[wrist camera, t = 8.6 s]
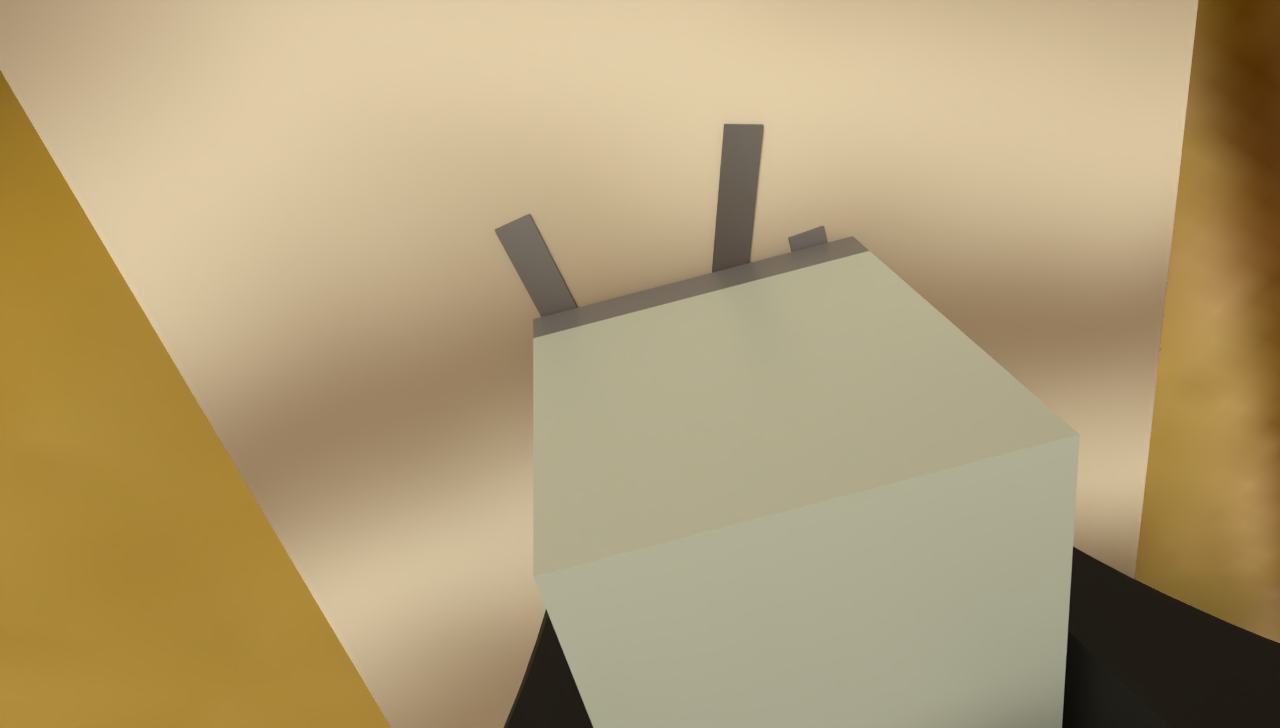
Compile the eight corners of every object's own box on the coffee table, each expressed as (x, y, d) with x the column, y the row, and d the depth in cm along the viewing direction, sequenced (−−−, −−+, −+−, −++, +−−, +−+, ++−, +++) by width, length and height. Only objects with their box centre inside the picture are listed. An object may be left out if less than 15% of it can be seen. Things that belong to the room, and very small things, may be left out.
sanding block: (891, 636, 14) (1049, 935, 10) (656, 698, 14) (711, 1025, 10) (852, 236, 11) (1080, 434, 6) (533, 319, 11) (533, 577, 6)
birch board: (1088, 617, 17) (1127, 663, 16) (461, 781, 17) (455, 840, 16) (1173, -565, 8) (1274, -646, 7) (-103, -231, 8) (-202, -262, 7)
